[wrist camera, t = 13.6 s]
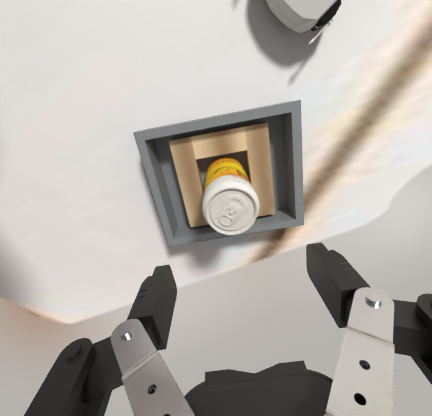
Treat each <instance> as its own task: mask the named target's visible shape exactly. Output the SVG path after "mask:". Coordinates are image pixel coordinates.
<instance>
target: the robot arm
mask: <svg viewBox="0 0 432 416" xmlns="http://www.w3.org/2000/svg"><path fill="white" fill-rule="evenodd" d="M306 250H307V252H306V255H307V271H308V274H309V277H310V279H311V281H312V282H313V284H314V286H315V287H316V289H317V291H318V293H319V294H320V296H321V298H322V300H323V301H324V303H325V305H326V307H327V308H328V310H329V312H330V313H331V315H332V317H333V318H334V320H335V322H336V324H337V326H338V327H339V328H344V327H345V331H344V335H343V340H342V344H341V348H340V353H339V357H338V361H337V365H336V370H335V374H334V378H333V380H332V379H331V378H329V377H327V376H325V375H323V374H321V373H319V372H316V371H312V370H308V369H306V366H305V364H304V361H296V362H288V363H279V364H277V365H274V366H272V367H270V368H267V369H265V370H262V371H260V372H258V373H248V372H242V371H235V370H230V369H228V370H219V371H211V372H205V381H204V382H202V383H201V384H199V385H197V386H195V387H194V388H193V389H191V390H190V391H189V392H188V393H187V394H186V395H185V396H183V394H182V392H181V390H180V389H179V387H178V385H177V383H176V382H175V380H174V378H173V376H172V374H171V373H170V371H169V369H168V367H167V366H166V364H165V362H164V360H163V359H162V357H161V355H160V353H159V352H158V350H163V349H166V346H167V340H168V336H169V331H170V326H171V321H172V316H173V311H174V306H175V301H176V296H177V287H176V283H175V280H174V277H173V274H172V270H171V267H170V265H164V266H157V267H156V268H155V270H154V273H153V275H152V276H149V277H147V278H146V279H145V281H144V282H143V283H142V284H141V287H140V289H139V292H138V294H137V296H136V297H137V298H136V299H135V301H134V304H133V306H132V308H131V311H130V313H129V316H128V318H127V320H126V321H125V322H122V323H121V324H120V325H118V326H117V327H116V328H115V330H114V331H113V333H112V335H111V336H110V337H108V338H106V339H104V340H101V341H99V342H97V343H94V344H92V342H91V341H90V340H89V339H87V338H82V339H78V340H76V341H74V342H72V343H71V344H69V345H68V346H67V347H66V348H65V349H64V350H63V351H62V352H61V353H60V355H59V356H58V358H57V360H56V361H55V363H54V365H53V367H52V368H51V370H50V372H49V373H48V375H47V377H46V379H45V380H44V382H43V384H42V385H41V387H40V389H39V391H38V392H37V394H36V396H35V397H34V399H33V401H32V403H31V404H30V406H29V408H28V410H27V411H26V413H25V415H24V416H104V414H105V411H106V408H107V404H108V402H109V398H110V395H111V392H112V390H113V389H115V388H117V387H120V386H122V385H124V387H125V390H126V393H127V395H128V399H129V401H130V405H131V407H132V410H133V413H134V416H392V408H393V379H394V353H398V354H403V355H408V356H411V357H412V359H413V360H414V361H415V363H416V364H417V365H418V367H419V368H420V369H421V371H422V372H423V374H424V375H425V376H426V378H427V379H428V380H429V382H430V383H431V384H432V294H423V295H421V296H419V297H418V299H417V302H407V301H398V300H393V299H391V298H390V297H389V296H388V295H387V294H386V293H384V292H382V291H380V290H378V289H374V288H371V287H370V286H369V285H368V284H367V283H366V282H365V280H363V278H362V277H361V276H360V275H359V274H358V273H357V271H356V270H355V269H354V268H352V266H351V265H350V264H349V263H348V261H347V260H346V259H345V258H344V257H343V256H342V255H341V254H339V253H338V252H336V251H334V250H330V251H328V250H327V248H326V247H325V246H324V245H323V244H322V243H314V244H308V245H307V247H306Z"/></svg>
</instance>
